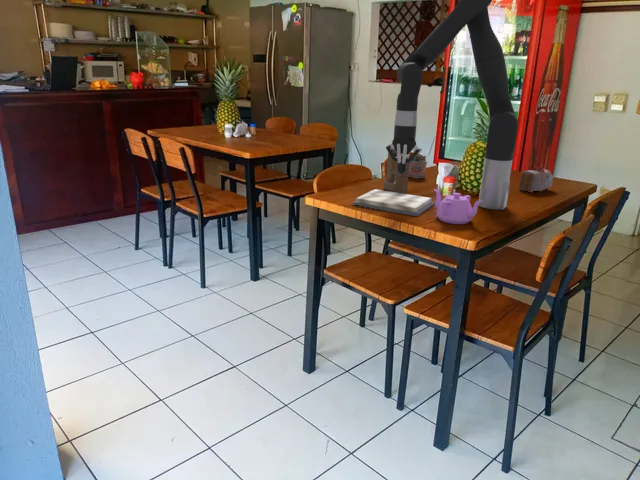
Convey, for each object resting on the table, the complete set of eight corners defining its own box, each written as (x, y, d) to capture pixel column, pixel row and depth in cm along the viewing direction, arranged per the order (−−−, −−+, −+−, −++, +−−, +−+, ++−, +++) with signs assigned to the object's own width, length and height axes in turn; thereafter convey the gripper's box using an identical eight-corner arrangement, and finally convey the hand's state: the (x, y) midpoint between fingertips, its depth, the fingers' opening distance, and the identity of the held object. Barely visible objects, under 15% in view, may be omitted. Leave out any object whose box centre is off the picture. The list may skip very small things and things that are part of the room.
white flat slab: (423, 207, 172) (424, 202, 171) (416, 212, 165) (416, 208, 165) (365, 197, 182) (365, 193, 181) (356, 202, 175) (356, 198, 175)
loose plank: (431, 202, 179) (431, 197, 178) (424, 206, 172) (424, 202, 171) (374, 193, 189) (375, 189, 188) (365, 197, 182) (366, 193, 182)
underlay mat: (434, 204, 179) (434, 201, 179) (417, 216, 164) (418, 213, 164) (373, 194, 190) (373, 192, 190) (352, 205, 175) (352, 202, 175)
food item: (535, 186, 213) (539, 163, 210) (552, 190, 207) (557, 167, 204) (516, 190, 206) (520, 166, 202) (533, 194, 199) (537, 170, 196)
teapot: (431, 213, 168) (434, 188, 165) (473, 216, 167) (476, 190, 164) (435, 224, 157) (438, 196, 154) (480, 226, 156) (484, 199, 153)
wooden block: (399, 195, 191) (403, 148, 185) (383, 189, 200) (386, 143, 194) (407, 194, 193) (411, 147, 187) (390, 188, 201) (394, 143, 195)
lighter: (407, 177, 222) (409, 155, 218) (407, 176, 225) (409, 154, 222) (425, 178, 220) (427, 156, 217) (425, 177, 224) (427, 155, 220)
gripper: (427, 124, 172) (422, 174, 178) (391, 121, 178) (388, 169, 184) (420, 126, 166) (416, 177, 172) (383, 123, 172) (380, 173, 178)
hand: (401, 173), depth 178 cm, fingers closed
